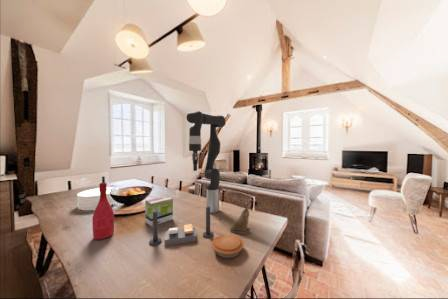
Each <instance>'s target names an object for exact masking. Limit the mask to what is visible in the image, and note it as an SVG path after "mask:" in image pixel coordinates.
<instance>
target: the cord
mask: <svg viewBox="0 0 448 299" xmlns="http://www.w3.org/2000/svg"><path fill="white" fill-rule="evenodd" d="M158 226H159V224H158V212H157V211H154V212H153V226H152V238H151V239H150V240H149V241H148V244H149V246H152V247H155V246H159V245H160V244H161V243H162V238H161V237H159V236H158V235H159V232H158V231H159V227H158Z"/></svg>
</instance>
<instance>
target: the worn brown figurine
mask: <svg viewBox="0 0 448 299" xmlns="http://www.w3.org/2000/svg"><path fill="white" fill-rule="evenodd" d="M248 208H249V205H248V204H246V205H245V209H243V211H242V212H241V213H240V216H239V218H237V220H236V221H235V222H234V223H233V224H232V225H231V227H229V228H230V230H229V232H230V233H234V234H238V235H244V236H245V235H246V236H250V234H251V229H250V228H248V224H249V220H250V219H249V216H250V211H249V209H248Z"/></svg>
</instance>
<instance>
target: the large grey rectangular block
mask: <svg viewBox="0 0 448 299" xmlns="http://www.w3.org/2000/svg"><path fill="white" fill-rule="evenodd" d="M192 228H193V233H188V234H184V228H181V229H179V228H178V230H177V233H174V234H168V232H169V230H167V231H165V236H164V246H171V245H172V246H173V245H179V244H186V243H192V242H197V232H196V227H192Z"/></svg>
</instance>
